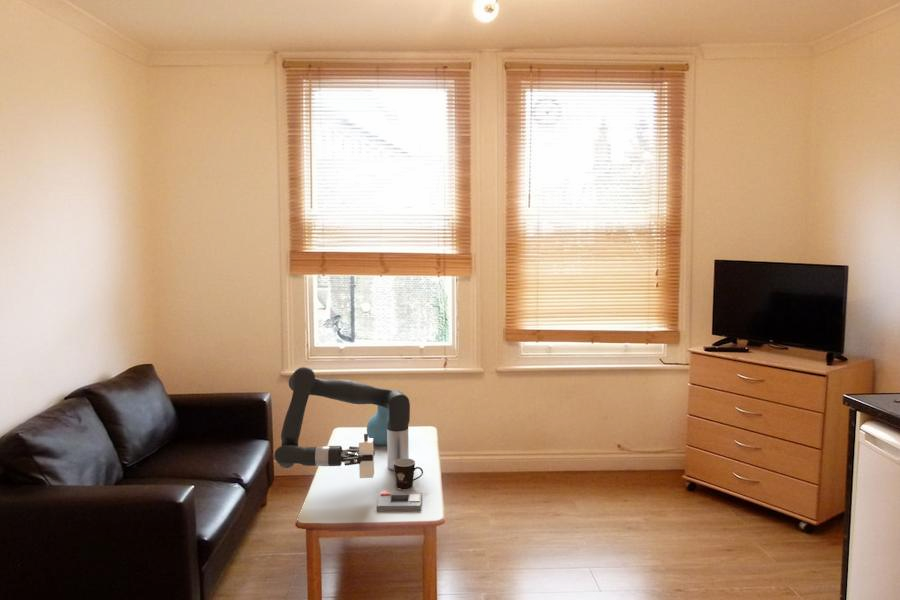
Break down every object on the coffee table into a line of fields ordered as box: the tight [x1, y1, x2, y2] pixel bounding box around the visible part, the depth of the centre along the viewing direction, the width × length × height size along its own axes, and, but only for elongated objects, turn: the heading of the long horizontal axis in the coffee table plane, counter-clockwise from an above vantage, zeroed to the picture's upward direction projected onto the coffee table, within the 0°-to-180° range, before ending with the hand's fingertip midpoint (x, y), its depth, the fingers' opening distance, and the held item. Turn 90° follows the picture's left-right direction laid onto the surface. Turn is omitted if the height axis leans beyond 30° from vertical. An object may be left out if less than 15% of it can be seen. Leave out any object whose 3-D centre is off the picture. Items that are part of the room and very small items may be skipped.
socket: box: [376, 490, 422, 512], centre depth 230 cm, size 12×16×3 cm
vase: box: [366, 405, 389, 446], centre depth 297 cm, size 16×16×25 cm
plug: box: [358, 433, 375, 479], centre depth 233 cm, size 4×5×16 cm
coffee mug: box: [393, 458, 424, 491], centre depth 245 cm, size 12×9×10 cm
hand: (373, 455), depth 233 cm, fingers closed on plug, 4 cm apart
